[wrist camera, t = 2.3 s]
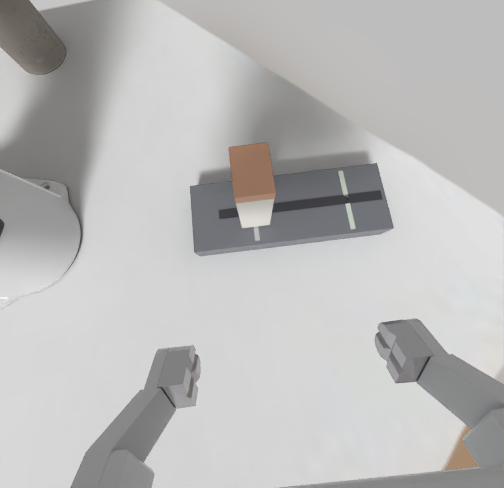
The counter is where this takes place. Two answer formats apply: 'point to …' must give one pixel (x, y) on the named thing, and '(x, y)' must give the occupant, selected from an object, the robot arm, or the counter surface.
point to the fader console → (294, 211)
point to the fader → (252, 183)
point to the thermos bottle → (29, 37)
